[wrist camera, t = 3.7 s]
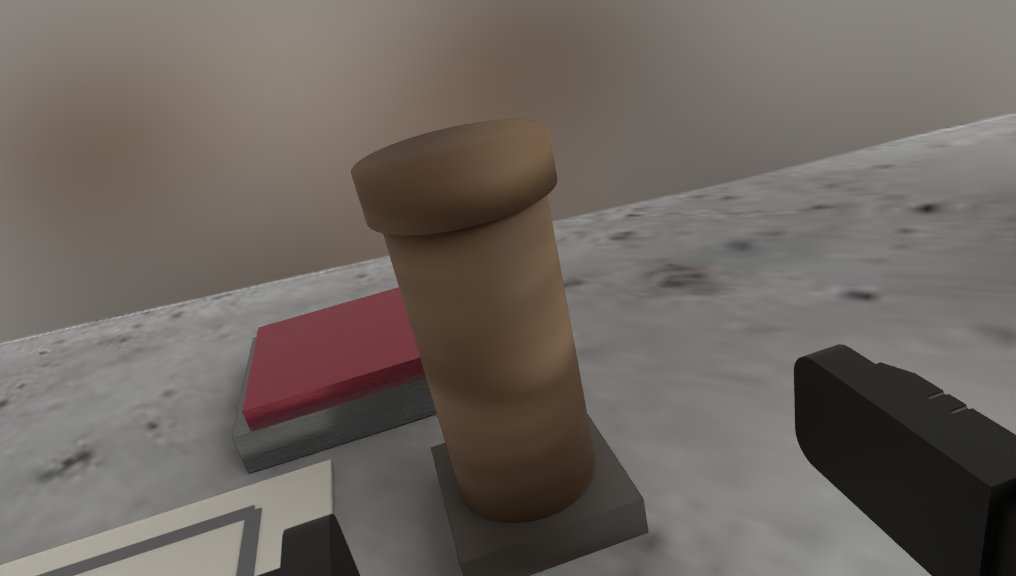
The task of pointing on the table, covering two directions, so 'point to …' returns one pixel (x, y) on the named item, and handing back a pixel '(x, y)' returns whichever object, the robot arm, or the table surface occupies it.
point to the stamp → (497, 346)
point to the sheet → (197, 534)
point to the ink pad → (330, 380)
